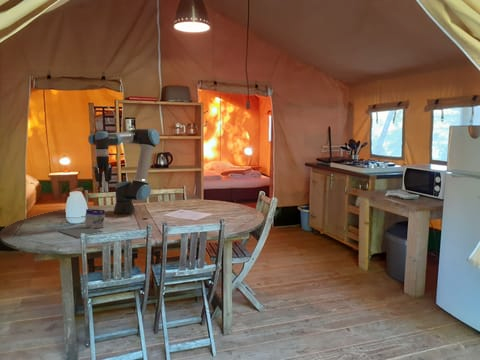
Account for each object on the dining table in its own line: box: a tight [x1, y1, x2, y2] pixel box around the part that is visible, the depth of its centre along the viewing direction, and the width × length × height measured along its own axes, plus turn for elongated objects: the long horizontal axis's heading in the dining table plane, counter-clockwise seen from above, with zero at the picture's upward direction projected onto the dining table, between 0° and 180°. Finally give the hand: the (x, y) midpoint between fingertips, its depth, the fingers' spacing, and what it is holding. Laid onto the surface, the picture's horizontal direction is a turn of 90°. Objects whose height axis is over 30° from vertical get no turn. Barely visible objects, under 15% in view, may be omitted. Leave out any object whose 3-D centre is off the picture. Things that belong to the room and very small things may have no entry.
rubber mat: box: [57, 224, 103, 239], centre depth 230 cm, size 16×22×1 cm
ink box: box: [84, 208, 106, 229], centre depth 237 cm, size 12×2×12 cm, turn 104°
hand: (104, 191), depth 241 cm, fingers open, 3 cm apart
